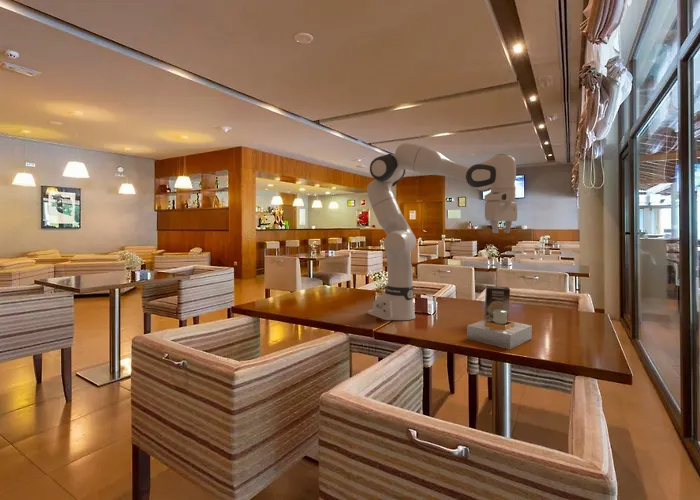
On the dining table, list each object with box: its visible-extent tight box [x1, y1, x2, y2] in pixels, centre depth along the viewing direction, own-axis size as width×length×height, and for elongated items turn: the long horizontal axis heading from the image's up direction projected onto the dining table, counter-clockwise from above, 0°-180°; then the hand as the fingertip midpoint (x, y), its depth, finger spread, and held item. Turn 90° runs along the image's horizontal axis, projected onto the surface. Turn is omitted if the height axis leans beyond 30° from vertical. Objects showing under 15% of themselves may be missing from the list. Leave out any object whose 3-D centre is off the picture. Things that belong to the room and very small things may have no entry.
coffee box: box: [483, 285, 511, 321], centre depth 159 cm, size 9×6×16 cm
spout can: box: [488, 309, 507, 326], centre depth 141 cm, size 7×5×9 cm
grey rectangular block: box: [466, 317, 533, 350], centre depth 141 cm, size 16×18×6 cm
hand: (501, 232), depth 149 cm, fingers open, 8 cm apart
